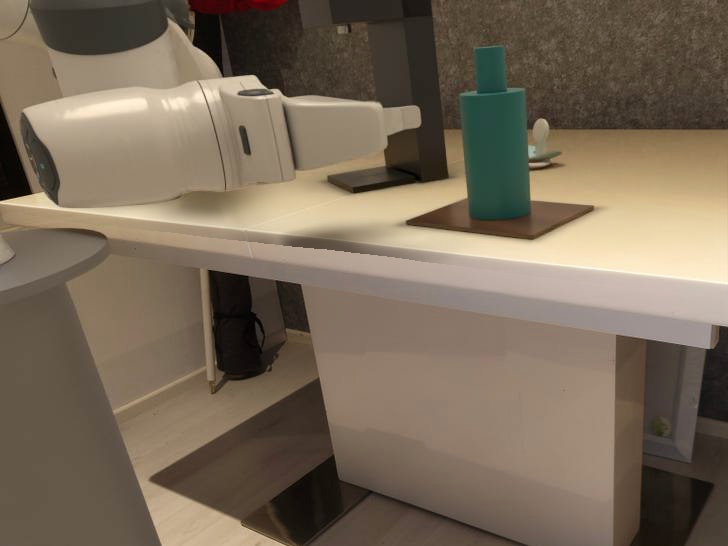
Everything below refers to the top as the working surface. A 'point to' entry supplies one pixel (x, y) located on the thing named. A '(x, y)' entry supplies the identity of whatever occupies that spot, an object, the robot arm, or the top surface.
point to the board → (526, 226)
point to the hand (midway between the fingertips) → (397, 112)
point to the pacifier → (541, 146)
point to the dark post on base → (394, 84)
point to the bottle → (495, 141)
